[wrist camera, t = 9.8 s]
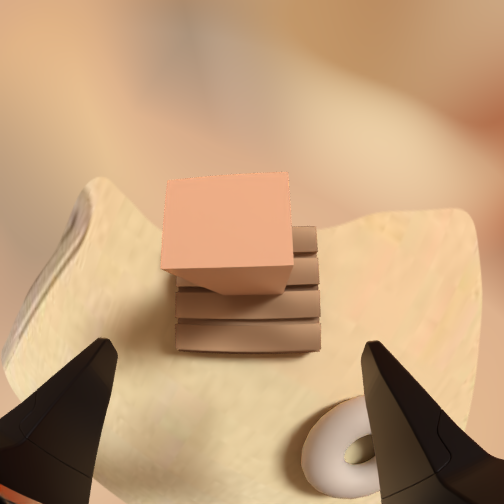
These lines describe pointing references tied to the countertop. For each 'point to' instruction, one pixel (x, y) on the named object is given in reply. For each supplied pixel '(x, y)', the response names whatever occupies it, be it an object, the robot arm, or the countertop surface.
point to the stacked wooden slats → (255, 311)
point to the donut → (339, 453)
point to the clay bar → (229, 232)
